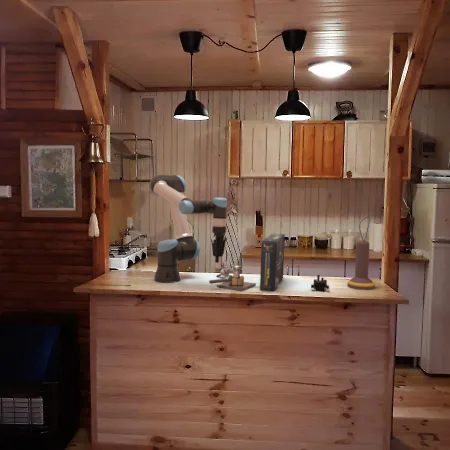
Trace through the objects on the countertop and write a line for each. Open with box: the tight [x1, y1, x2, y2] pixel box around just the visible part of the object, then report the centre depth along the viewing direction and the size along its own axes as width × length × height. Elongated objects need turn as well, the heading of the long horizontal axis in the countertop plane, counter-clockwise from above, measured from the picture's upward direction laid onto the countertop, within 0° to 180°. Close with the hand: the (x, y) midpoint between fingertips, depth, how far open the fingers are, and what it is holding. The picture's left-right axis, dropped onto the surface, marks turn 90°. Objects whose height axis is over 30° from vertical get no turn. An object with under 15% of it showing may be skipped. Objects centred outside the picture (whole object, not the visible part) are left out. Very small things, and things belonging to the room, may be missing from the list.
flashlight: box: [347, 216, 376, 291], centre depth 271 cm, size 15×40×15 cm
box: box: [259, 233, 286, 292], centre depth 274 cm, size 35×9×28 cm, turn 166°
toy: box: [310, 274, 330, 293], centre depth 274 cm, size 10×5×30 cm
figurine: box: [216, 259, 233, 278], centre depth 295 cm, size 12×9×15 cm
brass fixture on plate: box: [216, 264, 257, 292], centre depth 267 cm, size 16×16×12 cm
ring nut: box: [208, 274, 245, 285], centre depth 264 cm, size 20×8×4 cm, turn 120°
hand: (217, 267), depth 267 cm, fingers closed
